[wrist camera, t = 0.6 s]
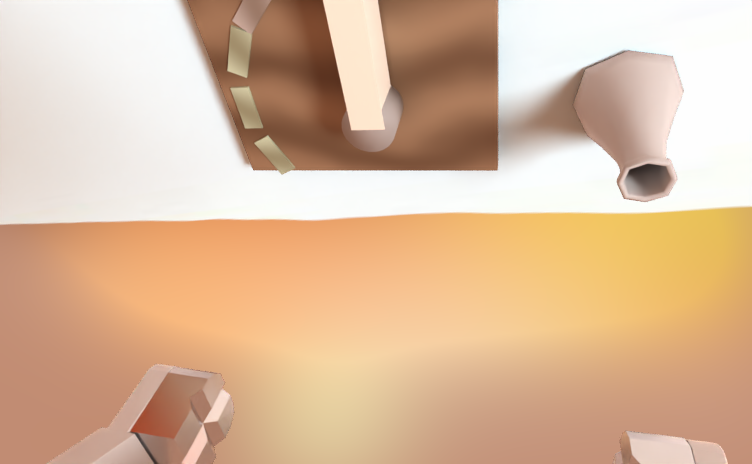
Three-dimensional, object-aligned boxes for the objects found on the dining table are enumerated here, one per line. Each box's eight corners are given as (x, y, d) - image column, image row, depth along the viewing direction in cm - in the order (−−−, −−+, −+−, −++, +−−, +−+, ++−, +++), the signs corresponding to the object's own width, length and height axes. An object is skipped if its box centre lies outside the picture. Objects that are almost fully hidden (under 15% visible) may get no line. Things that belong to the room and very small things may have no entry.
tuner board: (176, -61, 37) (164, -54, 36) (498, -103, 31) (496, -96, 30) (260, 163, 50) (253, 174, 49) (498, 162, 44) (497, 175, 43)
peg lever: (406, 126, 42) (398, 152, 39) (357, 127, 43) (347, 152, 40) (380, -64, 32) (367, -46, 30) (319, -57, 33) (302, -38, 31)
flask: (574, 143, 41) (582, 230, 34) (571, 57, 37) (579, 137, 30) (677, 132, 39) (709, 223, 32) (688, 39, 34) (728, 121, 27)
